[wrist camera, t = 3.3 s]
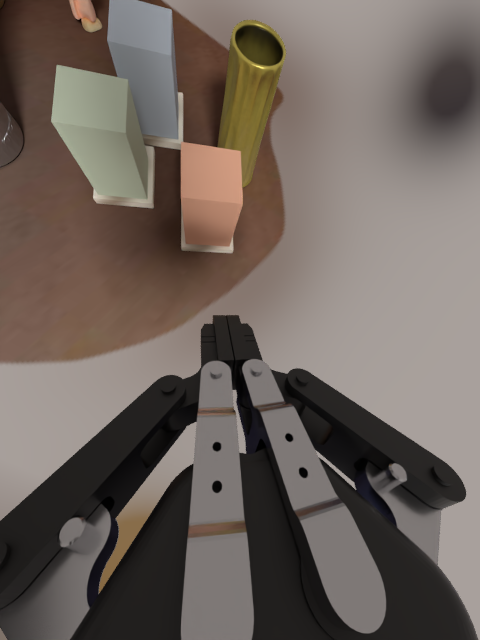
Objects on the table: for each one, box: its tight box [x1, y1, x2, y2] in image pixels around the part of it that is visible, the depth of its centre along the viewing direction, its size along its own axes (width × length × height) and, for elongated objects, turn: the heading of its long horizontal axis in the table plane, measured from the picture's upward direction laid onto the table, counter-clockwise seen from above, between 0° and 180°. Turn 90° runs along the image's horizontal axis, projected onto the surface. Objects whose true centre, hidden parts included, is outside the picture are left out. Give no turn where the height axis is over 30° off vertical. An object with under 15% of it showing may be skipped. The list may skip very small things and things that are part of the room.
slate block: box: [107, 0, 179, 139], centre depth 26 cm, size 6×6×9 cm
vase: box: [218, 20, 286, 188], centre depth 26 cm, size 6×6×14 cm
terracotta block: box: [181, 142, 243, 247], centre depth 25 cm, size 6×6×9 cm
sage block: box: [51, 65, 148, 199], centre depth 24 cm, size 6×6×9 cm
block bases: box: [93, 92, 233, 253], centre depth 30 cm, size 18×25×1 cm
